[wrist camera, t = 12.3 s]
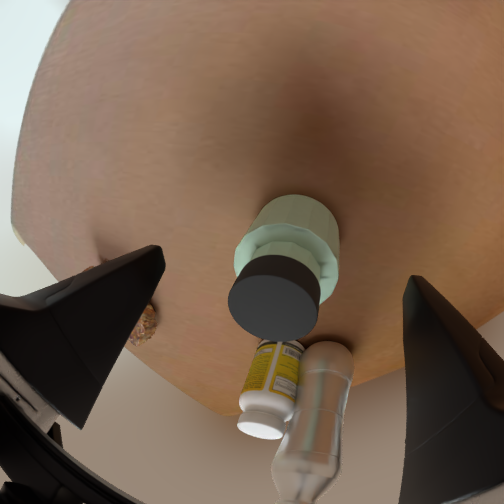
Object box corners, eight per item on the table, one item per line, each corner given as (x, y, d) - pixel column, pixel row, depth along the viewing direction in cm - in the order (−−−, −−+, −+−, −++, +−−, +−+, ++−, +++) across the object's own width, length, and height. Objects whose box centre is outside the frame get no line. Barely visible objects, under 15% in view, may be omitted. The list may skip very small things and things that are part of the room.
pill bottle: (261, 362, 34) (234, 435, 25) (255, 331, 31) (223, 413, 22) (307, 367, 32) (290, 445, 23) (309, 337, 29) (289, 426, 20)
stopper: (337, 277, 18) (333, 329, 14) (277, 300, 21) (261, 349, 17) (299, 217, 17) (285, 259, 13) (238, 249, 20) (210, 293, 16)
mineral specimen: (89, 297, 36) (64, 308, 29) (108, 256, 35) (82, 261, 29) (150, 343, 36) (132, 363, 30) (173, 303, 36) (156, 319, 29)
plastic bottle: (302, 366, 32) (260, 515, 16) (299, 331, 29) (246, 512, 12) (352, 368, 30) (327, 524, 13) (357, 333, 26) (333, 523, 10)
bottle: (353, 250, 22) (355, 312, 16) (284, 280, 26) (264, 340, 19) (310, 178, 20) (297, 217, 14) (239, 219, 23) (202, 268, 17)
